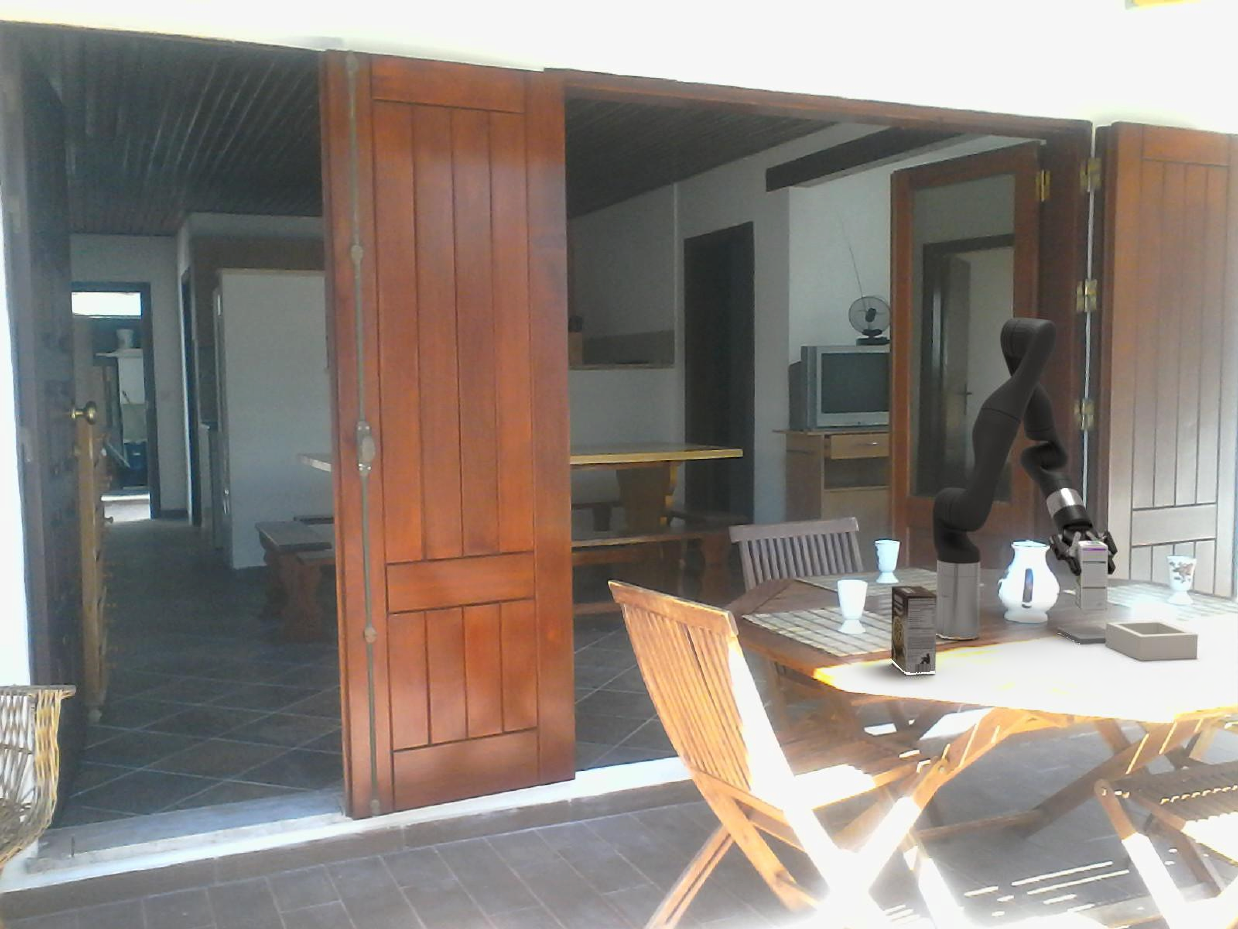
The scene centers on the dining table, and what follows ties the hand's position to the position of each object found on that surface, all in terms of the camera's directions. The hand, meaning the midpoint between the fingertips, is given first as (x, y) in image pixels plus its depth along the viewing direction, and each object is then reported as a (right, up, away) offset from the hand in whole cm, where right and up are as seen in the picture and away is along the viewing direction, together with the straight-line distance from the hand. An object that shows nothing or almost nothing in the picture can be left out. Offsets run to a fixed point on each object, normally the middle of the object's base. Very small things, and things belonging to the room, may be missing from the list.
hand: (1095, 573), depth 238 cm
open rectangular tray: (+7, -16, -9) cm, 20 cm away
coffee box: (-46, -17, -21) cm, 53 cm away
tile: (0, -15, +3) cm, 15 cm away
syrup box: (0, -8, +2) cm, 8 cm away
